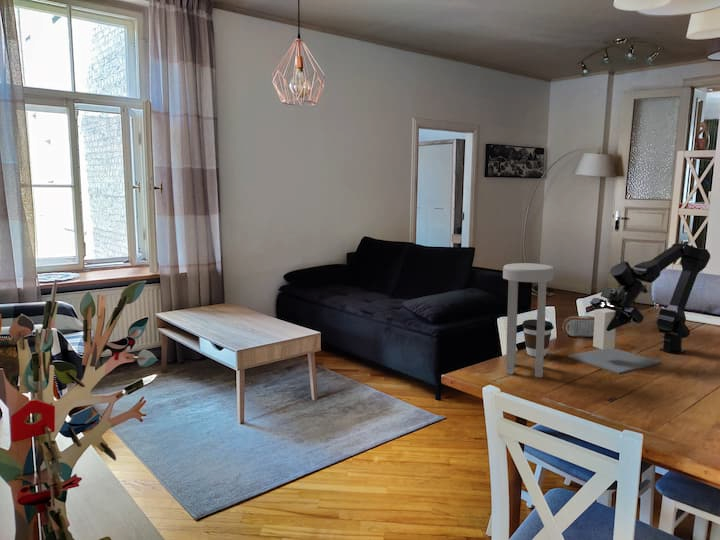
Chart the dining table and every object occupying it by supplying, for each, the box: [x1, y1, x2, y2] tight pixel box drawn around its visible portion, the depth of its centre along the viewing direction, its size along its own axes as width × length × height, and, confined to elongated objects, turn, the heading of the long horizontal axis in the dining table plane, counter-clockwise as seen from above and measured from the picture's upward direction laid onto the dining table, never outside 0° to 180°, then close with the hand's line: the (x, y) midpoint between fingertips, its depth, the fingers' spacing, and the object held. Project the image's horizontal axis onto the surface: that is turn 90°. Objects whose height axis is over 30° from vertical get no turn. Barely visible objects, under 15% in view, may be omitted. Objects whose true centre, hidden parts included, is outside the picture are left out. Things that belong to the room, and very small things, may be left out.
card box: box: [592, 308, 617, 350], centre depth 181 cm, size 5×4×13 cm
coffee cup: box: [521, 318, 554, 358], centre depth 190 cm, size 11×11×12 cm
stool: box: [502, 262, 555, 378], centre depth 172 cm, size 16×16×35 cm
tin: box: [561, 315, 595, 338], centre depth 213 cm, size 15×3×8 cm, turn 84°
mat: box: [567, 347, 661, 375], centre depth 184 cm, size 22×20×1 cm
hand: (601, 328), depth 180 cm, fingers closed on card box, 4 cm apart
